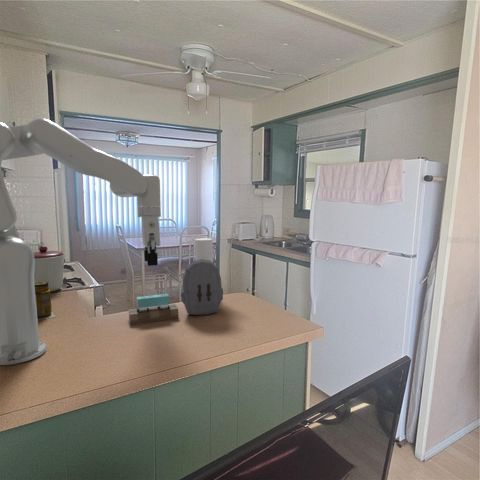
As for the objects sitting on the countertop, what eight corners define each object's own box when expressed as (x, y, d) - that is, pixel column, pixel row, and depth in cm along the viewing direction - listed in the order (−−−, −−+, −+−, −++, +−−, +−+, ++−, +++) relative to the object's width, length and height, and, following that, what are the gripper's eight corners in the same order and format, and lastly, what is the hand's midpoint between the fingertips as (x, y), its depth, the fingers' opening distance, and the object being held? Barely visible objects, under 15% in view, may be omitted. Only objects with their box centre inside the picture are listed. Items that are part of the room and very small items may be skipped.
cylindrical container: (197, 301, 138) (196, 240, 135) (195, 297, 144) (193, 238, 142) (215, 300, 140) (213, 239, 137) (212, 295, 146) (210, 238, 144)
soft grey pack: (221, 308, 128) (220, 256, 126) (225, 315, 120) (224, 260, 118) (180, 312, 124) (178, 258, 122) (182, 320, 116) (181, 262, 114)
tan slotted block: (178, 318, 118) (178, 308, 118) (130, 324, 112) (129, 314, 112) (175, 313, 124) (175, 303, 123) (129, 319, 118) (128, 309, 118)
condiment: (51, 311, 128) (48, 280, 127) (56, 317, 122) (53, 284, 120) (28, 315, 124) (26, 283, 122) (32, 321, 117) (29, 287, 116)
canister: (62, 283, 172) (60, 242, 170) (72, 290, 159) (69, 245, 156) (20, 290, 161) (17, 245, 159) (26, 297, 147) (22, 249, 145)
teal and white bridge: (169, 318, 119) (168, 295, 118) (138, 322, 115) (137, 299, 114) (168, 315, 121) (167, 293, 120) (137, 319, 118) (136, 297, 117)
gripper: (164, 212, 107) (166, 266, 109) (157, 212, 123) (158, 258, 125) (139, 213, 105) (141, 268, 106) (135, 212, 121) (137, 259, 122)
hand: (150, 262), depth 116 cm, fingers open, 9 cm apart
